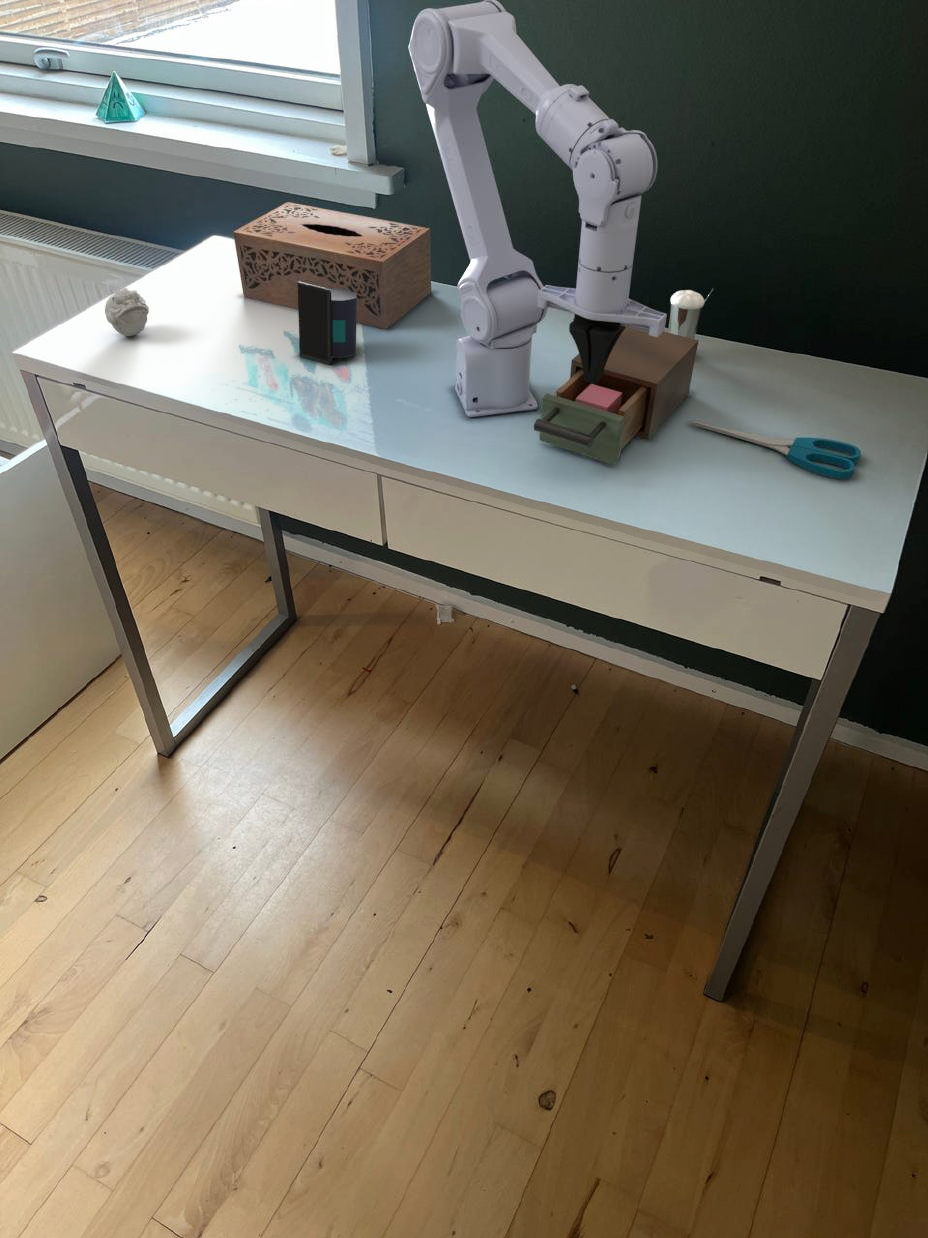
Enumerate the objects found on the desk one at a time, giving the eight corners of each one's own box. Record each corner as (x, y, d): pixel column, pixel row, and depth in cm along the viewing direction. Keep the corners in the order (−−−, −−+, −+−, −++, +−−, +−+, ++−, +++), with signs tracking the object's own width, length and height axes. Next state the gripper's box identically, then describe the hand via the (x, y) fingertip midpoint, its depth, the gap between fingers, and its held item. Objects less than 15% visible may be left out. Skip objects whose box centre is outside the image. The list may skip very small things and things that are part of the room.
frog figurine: (123, 349, 132) (110, 302, 127) (103, 332, 136) (90, 285, 131) (162, 337, 134) (151, 290, 130) (142, 320, 138) (130, 274, 134)
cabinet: (648, 439, 114) (657, 383, 109) (566, 414, 119) (571, 359, 114) (688, 393, 123) (698, 340, 118) (610, 371, 127) (617, 319, 122)
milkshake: (699, 364, 129) (713, 295, 122) (661, 361, 129) (672, 291, 123) (700, 350, 132) (713, 281, 125) (662, 346, 133) (673, 278, 126)
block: (603, 438, 111) (607, 407, 108) (572, 428, 113) (575, 398, 110) (618, 423, 114) (622, 392, 111) (587, 413, 115) (591, 383, 112)
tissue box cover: (431, 292, 146) (429, 228, 139) (386, 329, 136) (382, 262, 130) (295, 263, 154) (287, 201, 147) (243, 296, 145) (233, 231, 138)
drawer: (597, 485, 106) (602, 440, 102) (519, 459, 110) (521, 415, 106) (656, 418, 116) (663, 376, 112) (584, 397, 120) (588, 355, 116)
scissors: (851, 474, 107) (685, 432, 114) (849, 481, 107) (684, 438, 115) (863, 447, 111) (703, 407, 118) (861, 454, 112) (701, 414, 119)
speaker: (321, 369, 127) (317, 293, 120) (299, 356, 130) (294, 282, 124) (366, 358, 131) (365, 284, 125) (343, 345, 134) (341, 273, 128)
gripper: (684, 262, 97) (665, 380, 106) (561, 236, 102) (552, 349, 112) (658, 286, 92) (640, 406, 102) (531, 257, 98) (525, 373, 107)
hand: (593, 378), depth 106 cm, fingers closed
